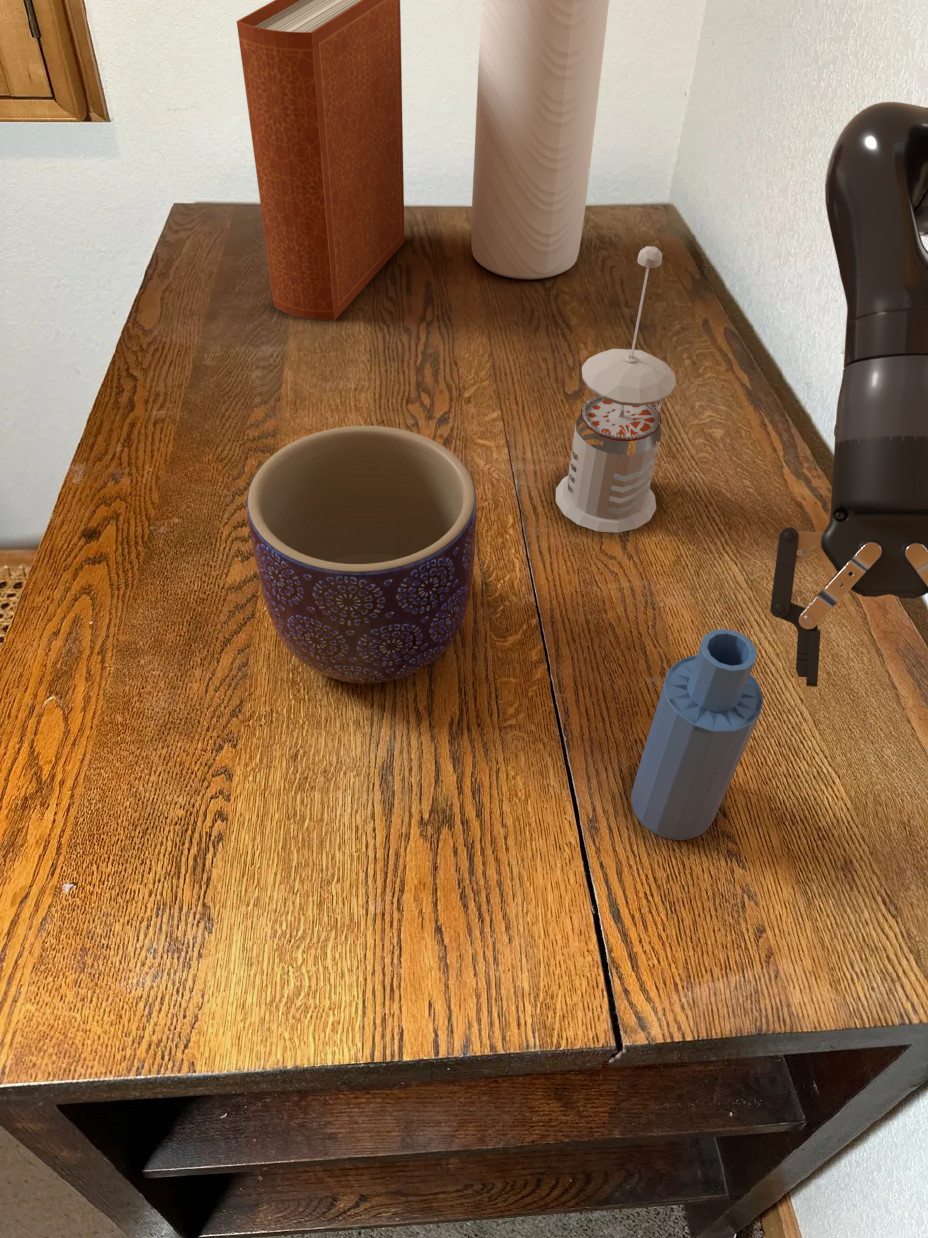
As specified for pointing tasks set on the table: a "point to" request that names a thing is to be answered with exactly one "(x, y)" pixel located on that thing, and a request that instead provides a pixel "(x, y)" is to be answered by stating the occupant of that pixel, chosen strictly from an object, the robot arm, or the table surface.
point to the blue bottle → (697, 736)
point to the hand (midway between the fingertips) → (881, 690)
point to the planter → (364, 549)
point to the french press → (617, 435)
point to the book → (326, 145)
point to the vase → (534, 132)
